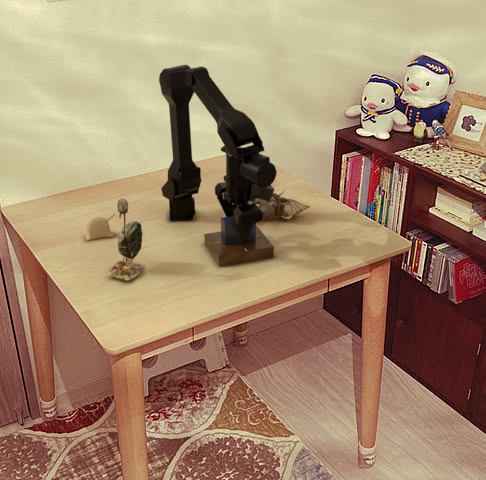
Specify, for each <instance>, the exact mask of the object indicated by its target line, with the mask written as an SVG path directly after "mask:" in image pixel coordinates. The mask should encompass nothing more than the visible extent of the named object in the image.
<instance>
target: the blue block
mask: <svg viewBox="0 0 486 480" xmlns="http://www.w3.org/2000/svg"><path fill="white" fill-rule="evenodd" d="M256 226H257V223H255V224H254V225H253V227H252V229H251V232H250V235H249V238H248V240H247V241H253V240H256ZM220 231H221V240H222V242H223V243H224V244H225V245H229V244H235V243H241V242H242V240H241V238H240V235H239V232H238V230H237V227H236V225H235V222H234V216H230V217H226V216H224V217H223V216H222V217H220Z"/></svg>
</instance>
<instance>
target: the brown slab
mask: <svg viewBox="0 0 486 480" xmlns="http://www.w3.org/2000/svg"><path fill="white" fill-rule="evenodd" d="M203 234H204V235H203V241H204V242H203V243H204V246H205V248H206V249H207V251H208V252H209V254H210V256H212V258H213V260H214V261H215V263H216V265H217V266H218V267H226V266H233V265H238V264H243V263H250V262H254V261H255V262H256V261H261V260H268V259H273V258H274V257H275V256H274V255H275V245H274V244H273V243H271V241H270V240H269V238H267V236H266V235H265V234H264V233H263V231H262V230H261V229H260V228H259V226H257V225H256V240H253V241H247V242H245V243H243V242H241V243H235V244H229V245H225V244H224V243H223V242H222V240H221V230H220V231H213V232H209V233H203Z"/></svg>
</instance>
